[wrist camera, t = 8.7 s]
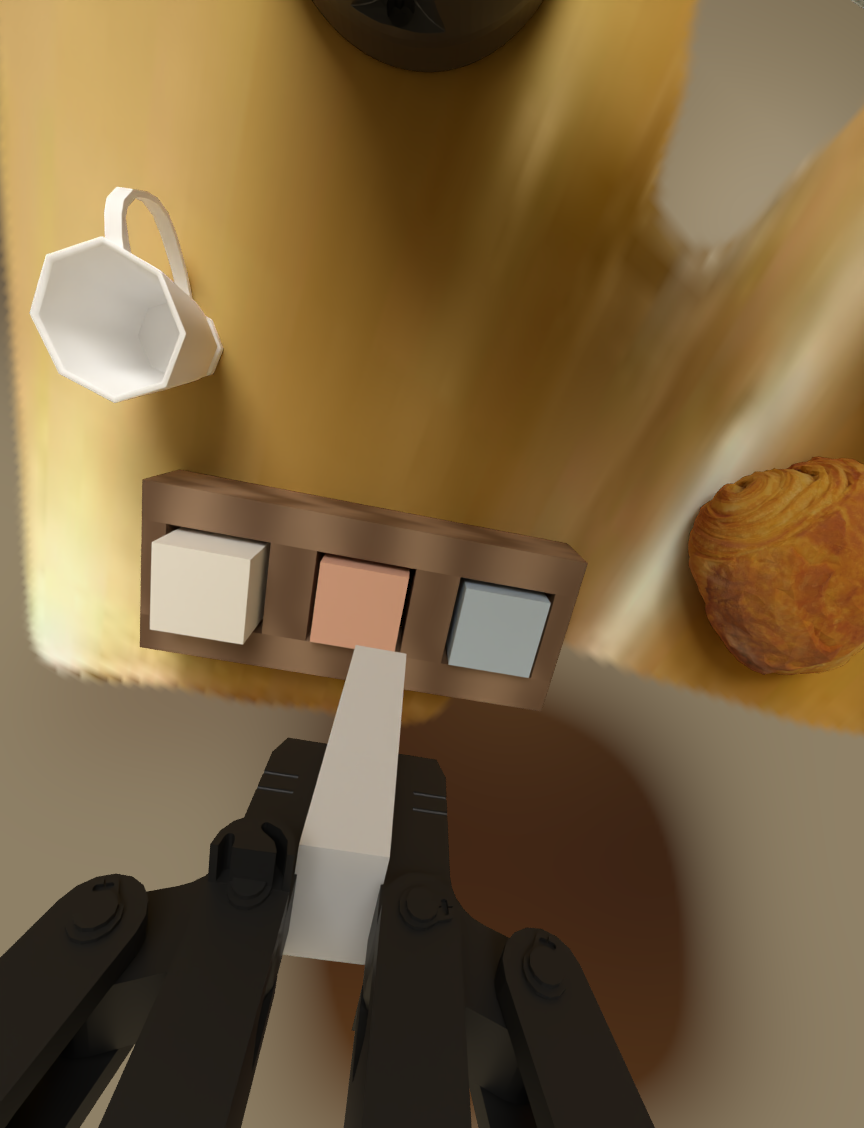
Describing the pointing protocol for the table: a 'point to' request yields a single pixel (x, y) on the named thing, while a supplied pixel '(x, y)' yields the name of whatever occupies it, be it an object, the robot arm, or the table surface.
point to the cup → (123, 311)
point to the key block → (370, 534)
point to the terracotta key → (358, 603)
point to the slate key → (496, 627)
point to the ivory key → (208, 584)
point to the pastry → (785, 566)
